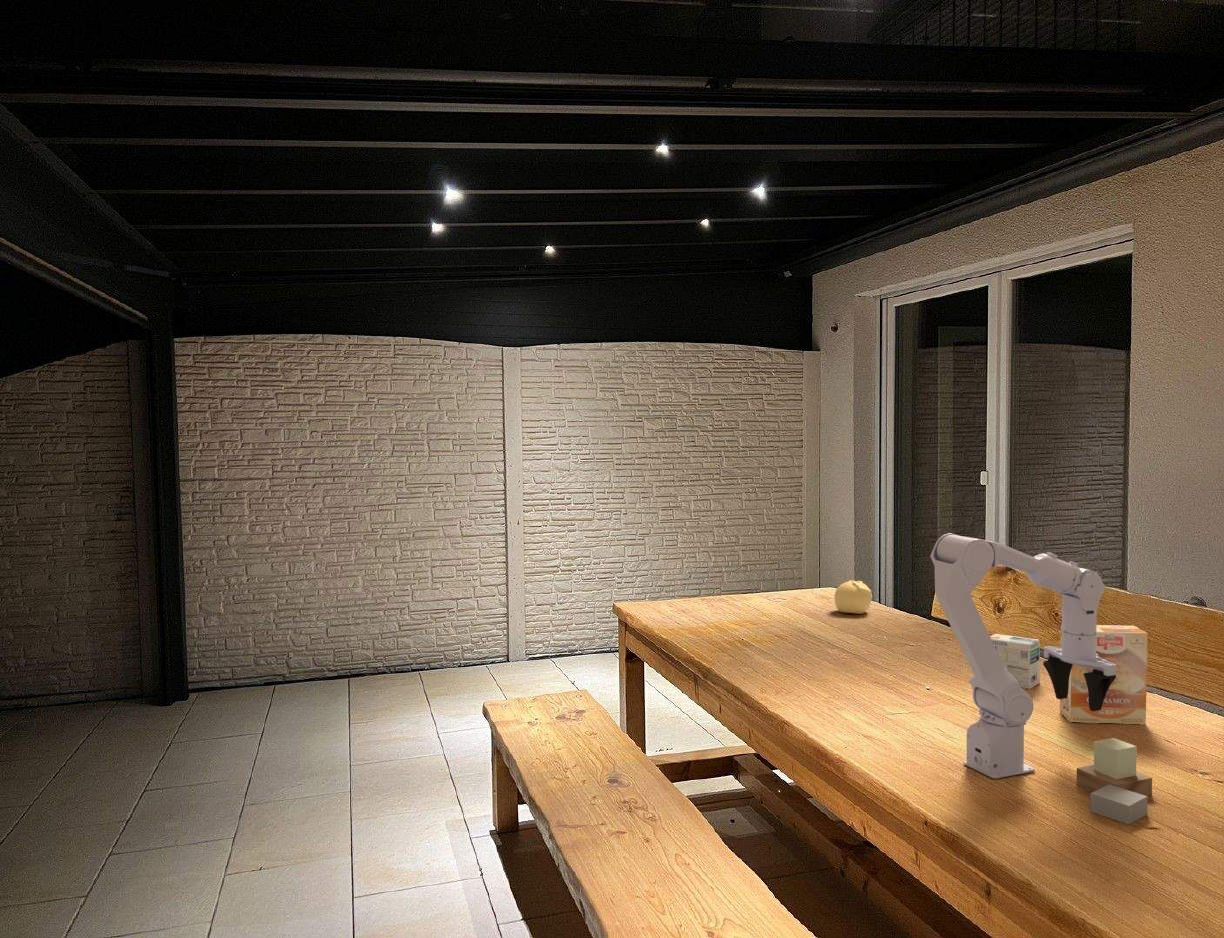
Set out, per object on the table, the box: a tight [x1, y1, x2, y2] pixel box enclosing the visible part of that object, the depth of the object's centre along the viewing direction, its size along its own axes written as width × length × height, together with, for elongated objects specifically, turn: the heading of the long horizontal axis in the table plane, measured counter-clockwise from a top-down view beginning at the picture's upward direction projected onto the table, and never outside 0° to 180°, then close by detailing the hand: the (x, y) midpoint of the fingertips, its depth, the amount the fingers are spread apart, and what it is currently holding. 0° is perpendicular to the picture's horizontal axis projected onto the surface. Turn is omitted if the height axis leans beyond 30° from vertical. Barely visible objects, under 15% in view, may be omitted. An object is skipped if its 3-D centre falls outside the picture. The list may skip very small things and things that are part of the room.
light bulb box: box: [989, 633, 1041, 689], centre depth 218 cm, size 11×7×11 cm, turn 47°
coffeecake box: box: [1059, 623, 1148, 726], centre depth 191 cm, size 15×7×20 cm, turn 82°
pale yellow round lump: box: [834, 579, 873, 615], centre depth 299 cm, size 11×12×11 cm
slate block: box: [1089, 785, 1148, 826], centre depth 146 cm, size 6×6×3 cm
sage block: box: [1093, 737, 1138, 779], centre depth 155 cm, size 4×4×5 cm
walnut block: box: [1076, 764, 1153, 797], centre depth 155 cm, size 8×8×3 cm
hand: (1078, 704), depth 169 cm, fingers open, 7 cm apart
